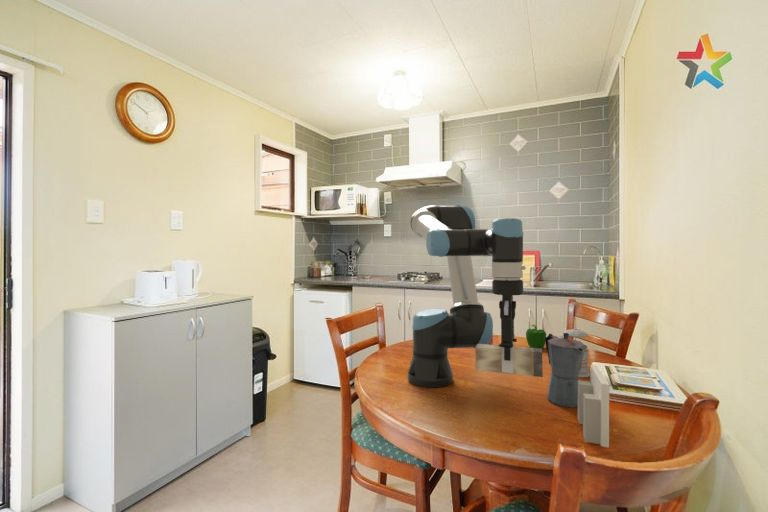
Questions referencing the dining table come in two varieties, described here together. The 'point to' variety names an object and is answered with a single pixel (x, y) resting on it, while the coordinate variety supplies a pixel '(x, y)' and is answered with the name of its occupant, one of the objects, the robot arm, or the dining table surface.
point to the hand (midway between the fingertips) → (508, 369)
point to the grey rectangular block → (523, 360)
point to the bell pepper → (536, 337)
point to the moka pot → (564, 369)
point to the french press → (582, 334)
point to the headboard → (594, 407)
